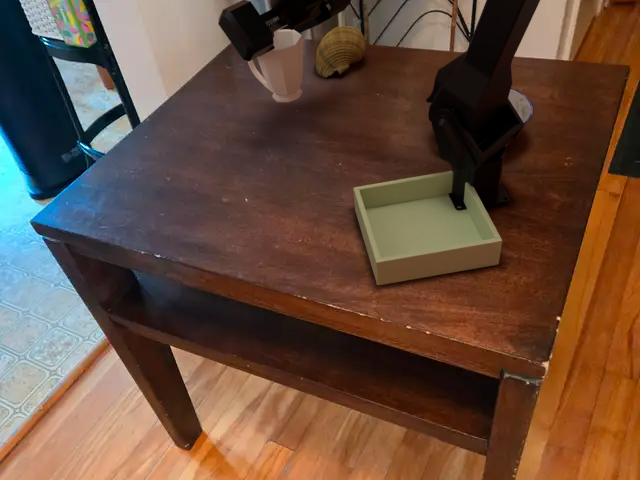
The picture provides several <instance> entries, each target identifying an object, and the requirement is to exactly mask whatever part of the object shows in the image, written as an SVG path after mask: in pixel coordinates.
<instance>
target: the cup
mask: <svg viewBox="0 0 640 480" xmlns="http://www.w3.org/2000/svg"><path fill="white" fill-rule="evenodd" d="M273 40H274V44H273V45H274V47H275V49H273V50H271V51H269V52H267V53H266V54H264V55H262V56H259V57H257V58H256V59H257V62H258V64H259V67H260V70H261V73H260V72H259V71H258V69H257V68H256V65H255V63H254V59H253V60H251V61H247V64H248V67H249V69H250V71H251V73H252V75H254V77H255V78H256V79H257V80H258V81H259V82H260V83H261V84H262V85H263V86H264V87H265V88H266V89H267V90H268V91H270V92H271V93H272V95H271V97H272V99H274V100H275V102H277V103H290V102H293V101H295V100H298V99H300V97H301V95H302V93H303V89H302V88H301V86H302V84H303V76H304V75H303V74H304V35H303V34H302V33H298V32H297V31H295V30H292V31H291V29H289V30H282V29H280V30H278V31H276V32H274V38H273Z"/></svg>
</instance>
